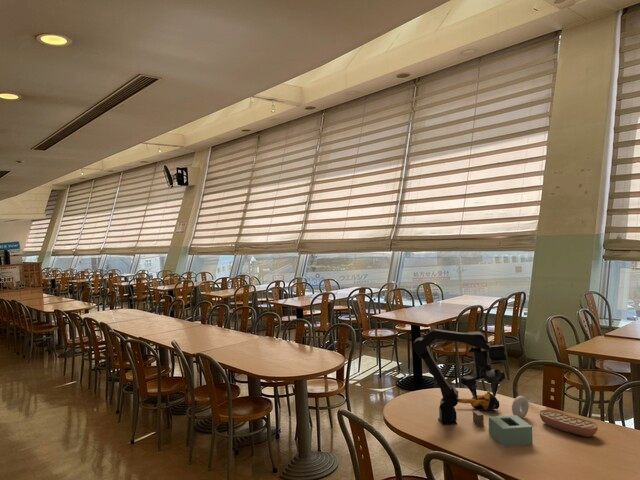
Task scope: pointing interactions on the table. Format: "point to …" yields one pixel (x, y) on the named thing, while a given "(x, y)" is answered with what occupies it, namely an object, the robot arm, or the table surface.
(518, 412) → the donut
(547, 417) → the pink mitochondrion model
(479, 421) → the rectangular block
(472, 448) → the table surface
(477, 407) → the fried shrimp in bowl
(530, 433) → the box
